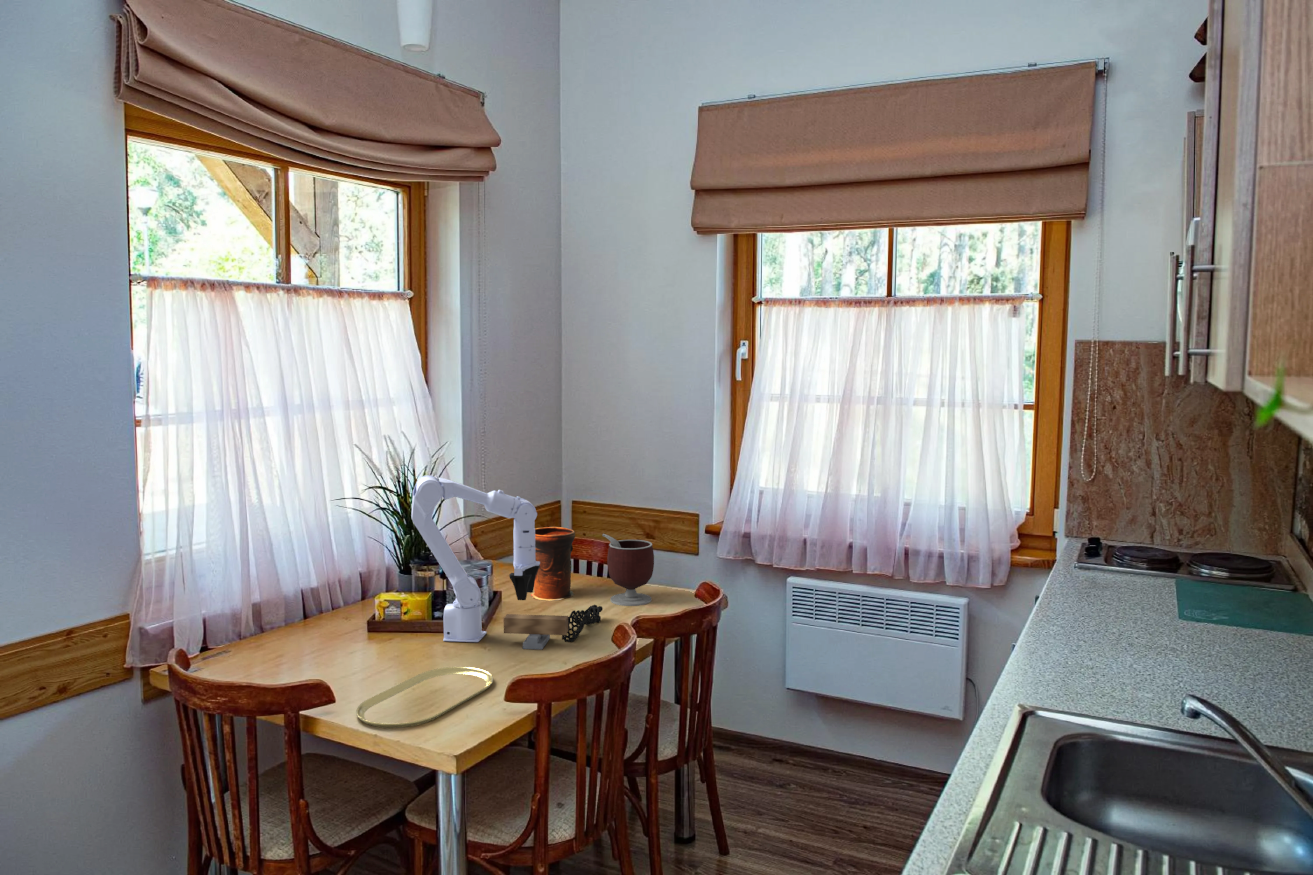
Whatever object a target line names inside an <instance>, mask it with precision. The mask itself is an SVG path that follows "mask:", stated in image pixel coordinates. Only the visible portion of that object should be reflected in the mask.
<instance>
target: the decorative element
mask: <svg viewBox="0 0 1313 875" xmlns="http://www.w3.org/2000/svg"><path fill="white" fill-rule="evenodd" d="M603 609H604V608H603V606H601V605H599V606H598V605H597V604H593V605H590V606H589V607H588V608H586V609H585V610H583V609H582V610H572V611H571V613H570V614H569V615H568V632H567V634H566V635H561V640H564V643H567V642H568V643H571V642H572V643H573V642H574V641H575V640H576V639H577V638H578V637H579V635H580V634H581V632H582V631H583V630H584V627H585V625H587V626H590V625H593V624H595V623H599V624H600V622H601V620H602V618H601V616H600V613H601V612H603ZM570 625H571V627H570ZM574 628H576V629H574ZM570 631H571V633H570Z"/></svg>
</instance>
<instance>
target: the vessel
mask: <svg viewBox="0 0 1313 875" xmlns="http://www.w3.org/2000/svg"><path fill="white" fill-rule="evenodd" d="M575 538H576V532H575V530H573V529H570V528H567V527H560V526H549V527H537V528H535V556H536V561H539V562H540V567H539V570H538V572H537V575H536V578H535V583H534V588H533V592H532V593H530V596H531V598H532V599H536V600H539V601H547V602H548V601H549V602H552V601H559V600H564V599H567V598H571V597H573V596H574V595H575V593H574V591H572V590H571V587H572V586H571V585H572V582H571V578H572V558H571V557H572V555H571V554H572V552H573V549H574V547H573V542H574V540H575Z"/></svg>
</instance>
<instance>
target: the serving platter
mask: <svg viewBox="0 0 1313 875" xmlns="http://www.w3.org/2000/svg"><path fill="white" fill-rule="evenodd" d="M448 675H469V676H474V677H477V678H480V679H482V680H483V681H484V682H485V686H484V687H483V688H481V689H479V690H477V691H476V692H474V693H472V694H470V695H469V696H467V697H465V698H463V699H461V700H460V701H458V702H456V703H455V704H452V705H450V706H449V707H447V708H445V709H444V710H442V711H440V712H438V713H436V714H434V715H432V716H429V717H426V718H423V719H419V720H415V721H408V722H401V723H399V722H398V723H382V722H373V721H369V720H367V719H366V718H365V713H366V712H367V711H368V710H369V709H370V708H372V707H374V706H376V705H378V704H380V703H382V702H384V701H386V700H388V699H390V698H392V697H394V696H397V695H398V694H400V693H402V692H404V691H407V690H409V689H410V688H412V687H414V686H416V685H417V684H420V683H422V682H424V681H427V680H429V679H432V678H436V677H441V676H448ZM493 683H494V677H493V675H492V674H491V673H490V672H489V671H486V670H484V669H481V668H478V667H477V668H476V667H471V666H449V667H441V668H436V669H431V670H428V671H424V672H422V673H419V674H417V675H414V676H413V677H410V678H409V679H407V680H405V681H403V682H400V683H398V684H397V685H394V686H392V687H390V688H388V689H386V690H385V691H382V692H380V693H378V694H376V695H374V696H372V697H369V698H367V699H366V700H364V701H362V702H361V703H360V704H359V705H358V706H357V707H356V712H355V713H356V716H357V718H358V719H359V720H360V721H361V722H363V723H365V724H367V725H369V726H372V727H378V728H385V729H398V728H408V727H415V726H418V725H422V724H425V723H429V722H431V721H433V720H435V719H437V718H438V717H441V716H443V715H444V714H446V713H448V712H449V711H451V710H453V709H455V708H457V707H458V706H460V705H462V704H464V703H465V702H468V701H469V700H470V699H472V698H474V697H476V696H478V695H480V694H481V693H483V692H485V691H486V690H488V688H490V687H491V685H492V684H493Z"/></svg>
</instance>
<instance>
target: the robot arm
mask: <svg viewBox="0 0 1313 875" xmlns="http://www.w3.org/2000/svg"><path fill="white" fill-rule="evenodd" d="M442 498H443V499H444V501H445V500H449V499H451V498H458V499H462V500H464V501H465V500H466V501H469V502H472V503H476V504H480V505H482V506H484V509H485V511H486V512H488V513H492V514H495V515H497V516H500V517H503V518H507V519H513V561H512V565H513V568H514V569H513V570H514V571H513V572H511V573H509V575H508V576H509V579H510V580H511V582H512V584H513V587H514V590H515V591H514V592H515V596H516V598H517V600H518V601H526V600H527V596H528V593H530V594H531V593H534V583H535V578H536V575H537V572H538V570H539V567H540V562H539V561H536V556H535V526H536V525H535V524H536V522H535V520H536V519H537V516H538V512H537V510H536V507H535V505H534V504H532V502H530V501H529V500H528V499H526V498H521V496H518V495H517V496H516V497H515V496H513V495H510V494H506V493H505V492H504V490H501V489H498V490H491V491H489V492H485V491H482V490H479V489H476V488H474V487H471V486H468V485H466V484H463V483H459V482H457V481H454V480H451V479H447V478H445V477H435V476H433V475H430V474H429V475H428V474H427V475H423V476H421V477H419V478H418V479H417V481H416V483H415V485H414V488H413V490H412V502H411V514H410V516H411V520H412V523H413V524H414V526H415V528H416V529H417V531H418V532H419V534H420V535H421V537H422V539H423V540H424V542H425V544H426V545H427V546H428V548H429V550H430V552H431V553H432V555H433V556H434V558H435V559H436V561H437V563H438V564H439V566H440V567H441V569H442V571H443V572H444V573H445V575H446V577H447V578H448V580H449V582H450V584H451V586H452V590H453V592H454V594H455V598H454V601H453V602H452V603H447V604H446V605H445V607H444V609H443V615H442V616H443V618H442V619H443V621H442V622H443V639H442V640H443V642H463V643H465V642H466V643H479V642H480V641H481V640H482V639H483V638H484V637H485V636H486V634H487V633H488V632H487V631H485V630H482V629H483V628H482V623H483V622H482V601H481V597H482V590H481V589H480V587H479V585H478V583H477V581H476V579H475V578H474V577H473V576H471V575H469V574H468V573H467V571H466V570H465V568H464V567H463V565H462V564H461V562H460V561H459V560H458V557H457V556H456V554H455V553H454V551H453V549H452V548H451V546H450V544H449V543H448V541H447V539H446V538H445V536H444V535H443V534H442V532H441V530H440V529H439V527H438V526H437V524H436V522H435V521H434V519H433V515H434V511H435V508H436V506H437V505H438V504H439V502H440V501H441V500H442Z"/></svg>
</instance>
